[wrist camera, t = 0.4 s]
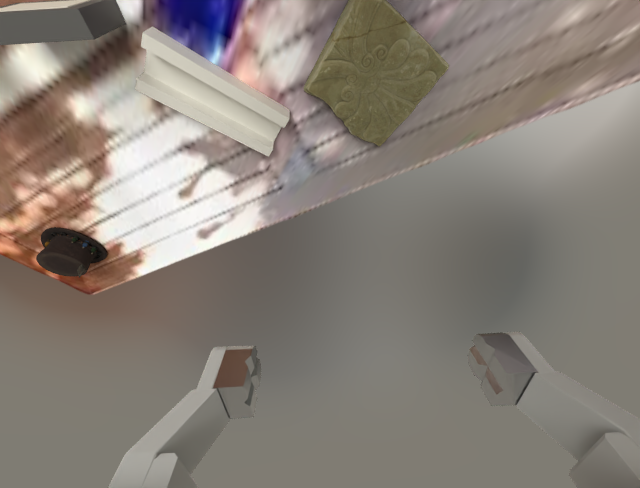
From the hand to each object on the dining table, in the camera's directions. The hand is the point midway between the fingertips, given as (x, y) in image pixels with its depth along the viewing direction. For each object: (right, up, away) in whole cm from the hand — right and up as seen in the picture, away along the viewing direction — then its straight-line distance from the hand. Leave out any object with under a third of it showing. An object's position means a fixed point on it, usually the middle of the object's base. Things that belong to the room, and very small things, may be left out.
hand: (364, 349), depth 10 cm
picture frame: (-39, +38, +30) cm, 62 cm away
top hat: (-71, +4, +67) cm, 97 cm away
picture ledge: (-20, +31, +40) cm, 54 cm away
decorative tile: (+8, +35, +40) cm, 53 cm away
